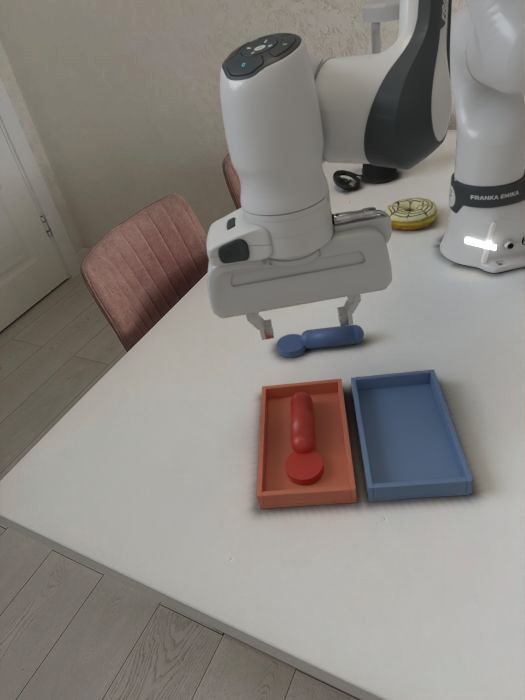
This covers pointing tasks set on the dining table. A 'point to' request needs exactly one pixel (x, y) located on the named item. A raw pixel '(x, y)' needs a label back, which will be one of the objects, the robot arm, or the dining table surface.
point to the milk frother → (364, 176)
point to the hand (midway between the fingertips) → (306, 329)
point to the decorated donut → (411, 213)
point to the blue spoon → (319, 339)
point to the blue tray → (408, 438)
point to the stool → (379, 18)
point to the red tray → (328, 444)
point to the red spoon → (303, 443)
